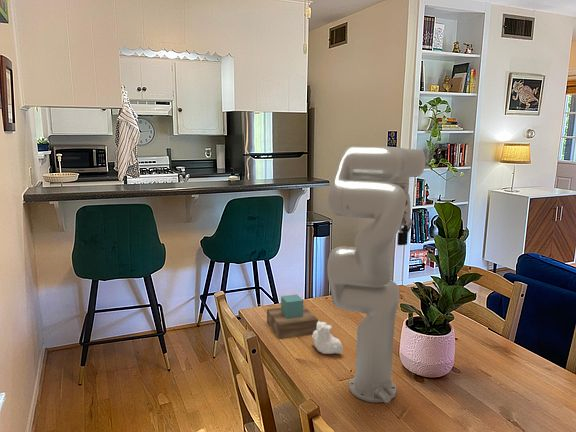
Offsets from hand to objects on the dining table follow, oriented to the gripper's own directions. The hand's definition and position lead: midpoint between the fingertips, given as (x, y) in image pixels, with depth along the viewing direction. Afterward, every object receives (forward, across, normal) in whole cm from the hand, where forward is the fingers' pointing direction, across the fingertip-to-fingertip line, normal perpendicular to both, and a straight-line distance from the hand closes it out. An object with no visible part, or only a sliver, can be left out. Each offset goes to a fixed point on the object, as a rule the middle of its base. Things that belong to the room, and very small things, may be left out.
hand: (393, 241), depth 147 cm
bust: (+35, 0, +23) cm, 42 cm away
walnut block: (+34, +20, +27) cm, 48 cm away
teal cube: (+29, +20, +27) cm, 45 cm away
